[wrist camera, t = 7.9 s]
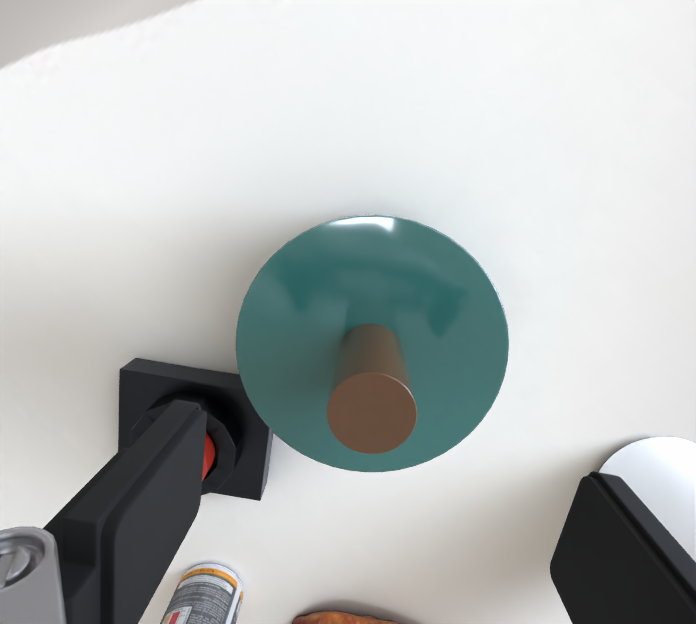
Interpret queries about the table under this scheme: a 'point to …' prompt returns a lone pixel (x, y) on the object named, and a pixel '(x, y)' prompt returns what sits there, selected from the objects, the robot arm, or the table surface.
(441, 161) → the table surface
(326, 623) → the bread slice
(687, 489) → the wine bottle
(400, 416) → the lid
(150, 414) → the button housing
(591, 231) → the table surface
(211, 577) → the pill bottle
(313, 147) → the table surface
